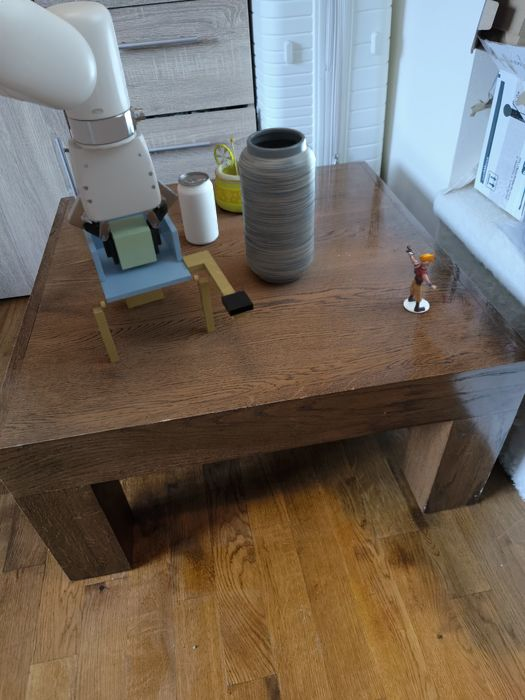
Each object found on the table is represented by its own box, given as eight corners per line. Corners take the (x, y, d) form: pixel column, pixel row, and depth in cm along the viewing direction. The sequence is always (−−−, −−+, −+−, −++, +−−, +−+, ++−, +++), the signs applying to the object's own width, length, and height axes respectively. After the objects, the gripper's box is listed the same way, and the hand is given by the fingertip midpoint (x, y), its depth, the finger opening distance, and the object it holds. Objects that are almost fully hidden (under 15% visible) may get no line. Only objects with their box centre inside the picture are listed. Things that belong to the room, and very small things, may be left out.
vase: (326, 264, 91) (331, 133, 75) (286, 297, 85) (283, 161, 69) (275, 244, 97) (269, 118, 81) (234, 273, 90) (220, 143, 75)
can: (224, 239, 99) (217, 179, 91) (194, 249, 97) (184, 189, 89) (210, 225, 103) (202, 167, 95) (180, 235, 101) (169, 176, 93)
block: (122, 269, 72) (113, 238, 69) (115, 252, 76) (107, 222, 72) (157, 260, 73) (150, 229, 70) (148, 244, 77) (141, 214, 74)
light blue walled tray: (125, 357, 62) (113, 319, 58) (90, 253, 79) (79, 219, 75) (254, 316, 66) (251, 279, 62) (194, 226, 83) (189, 193, 79)
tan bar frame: (111, 363, 75) (91, 307, 68) (96, 311, 85) (77, 257, 77) (215, 331, 79) (206, 274, 72) (190, 285, 89) (180, 231, 81)
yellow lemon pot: (273, 211, 106) (270, 153, 98) (221, 219, 105) (214, 162, 96) (259, 185, 115) (256, 130, 107) (211, 192, 114) (204, 137, 106)
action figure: (390, 281, 86) (398, 232, 80) (407, 279, 87) (415, 229, 80) (417, 326, 78) (428, 275, 71) (436, 324, 78) (448, 272, 71)
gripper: (163, 104, 67) (184, 228, 79) (27, 129, 62) (72, 256, 75) (179, 122, 62) (199, 252, 74) (32, 150, 57) (79, 284, 70)
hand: (135, 253), depth 74 cm, fingers open, 5 cm apart
